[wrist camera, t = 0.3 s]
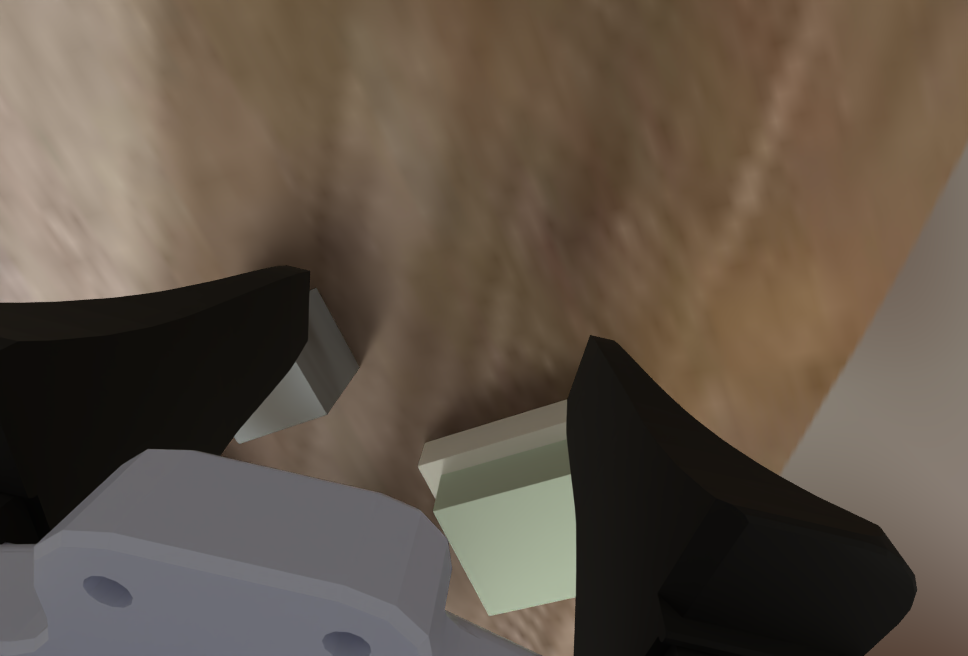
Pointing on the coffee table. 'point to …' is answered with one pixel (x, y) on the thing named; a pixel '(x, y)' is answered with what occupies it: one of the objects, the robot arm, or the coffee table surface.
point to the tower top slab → (513, 527)
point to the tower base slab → (492, 442)
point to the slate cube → (306, 378)
